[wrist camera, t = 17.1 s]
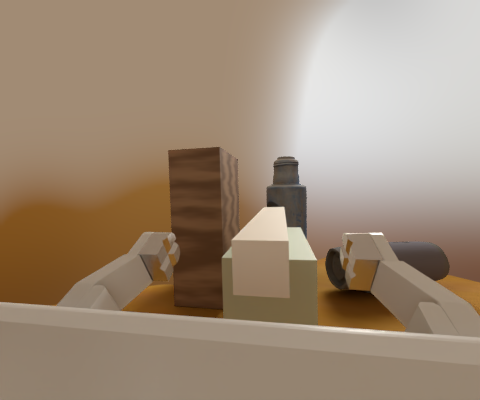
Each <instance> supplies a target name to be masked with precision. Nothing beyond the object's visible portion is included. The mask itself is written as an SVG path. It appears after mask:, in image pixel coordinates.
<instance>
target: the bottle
mask: <svg viewBox="0 0 480 400" xmlns="http://www.w3.org/2000/svg"><path fill="white" fill-rule="evenodd" d="M306 199H307V197H306V186H304V185H301V184H299V175H298V161H297V160H295V158H294V157H279V158H278V159H277V160H276V161H275V162H274V176H273V185H271V186H268V187H267V207H284V209H285V216H286V224H287V227H301V229H302V231H303V234H304V236H305V238H306V240H307V230H306V228H307V223H306V217H307V216H306Z"/></svg>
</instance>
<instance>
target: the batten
mask: <svg viewBox="0 0 480 400" xmlns="http://www.w3.org/2000/svg"><path fill="white" fill-rule="evenodd" d="M231 241H232V275H233V295H242V296H259V297H276V298H290V284H289V239H288V232H287V224H286V216H285V209H284V207H264V208H263V209H262V210H261V211H260V212H259V213H258V214H257V215H256V216H255V217H254V218H253V219H252V220H251V221H250V222H249V223H248V224H247V225H246V226H245V227H244V228H243V229H242V230H241V231H240V232H239V233H238V234H237V235H236V236H235V237H234V238H233V239H232V240H231Z"/></svg>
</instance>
